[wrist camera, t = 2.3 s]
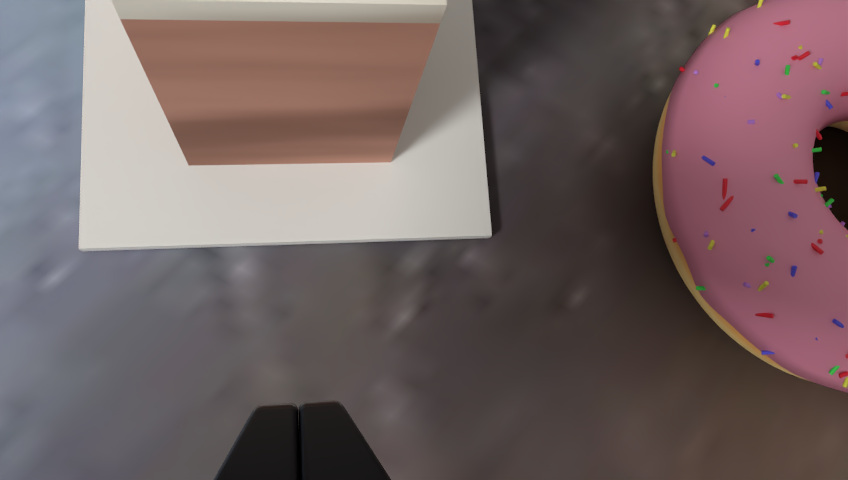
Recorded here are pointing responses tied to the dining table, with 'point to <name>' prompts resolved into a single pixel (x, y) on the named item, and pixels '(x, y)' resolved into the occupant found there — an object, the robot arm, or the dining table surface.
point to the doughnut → (761, 183)
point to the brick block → (283, 75)
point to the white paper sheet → (277, 183)
